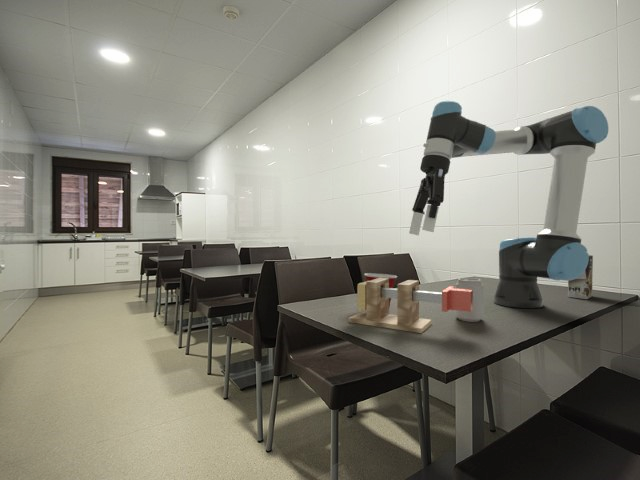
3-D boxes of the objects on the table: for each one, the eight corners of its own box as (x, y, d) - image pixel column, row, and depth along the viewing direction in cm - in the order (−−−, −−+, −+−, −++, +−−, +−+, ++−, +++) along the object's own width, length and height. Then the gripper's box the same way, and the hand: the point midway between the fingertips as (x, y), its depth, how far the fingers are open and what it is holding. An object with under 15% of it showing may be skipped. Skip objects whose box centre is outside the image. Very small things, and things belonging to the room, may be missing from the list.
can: (486, 323, 97) (486, 280, 96) (458, 322, 98) (458, 280, 98) (479, 316, 104) (479, 277, 104) (453, 315, 105) (453, 276, 105)
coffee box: (588, 299, 128) (588, 256, 127) (567, 297, 133) (567, 255, 132) (593, 296, 134) (593, 255, 134) (572, 294, 139) (573, 254, 138)
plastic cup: (404, 311, 112) (404, 274, 112) (378, 315, 106) (378, 276, 106) (382, 304, 121) (382, 271, 121) (357, 308, 116) (357, 273, 116)
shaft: (474, 307, 90) (474, 288, 89) (468, 314, 82) (468, 293, 82) (365, 295, 106) (365, 279, 106) (352, 300, 99) (352, 283, 99)
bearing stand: (431, 324, 96) (431, 281, 96) (421, 333, 88) (421, 286, 87) (363, 314, 107) (363, 276, 107) (348, 321, 99) (348, 280, 99)
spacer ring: (375, 305, 104) (375, 281, 103) (365, 310, 97) (365, 284, 97) (368, 304, 105) (368, 280, 105) (357, 309, 99) (357, 283, 98)
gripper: (411, 167, 107) (397, 232, 106) (438, 140, 83) (419, 225, 82) (435, 172, 107) (420, 238, 106) (469, 146, 82) (450, 232, 81)
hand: (420, 232), depth 94 cm, fingers open, 13 cm apart
